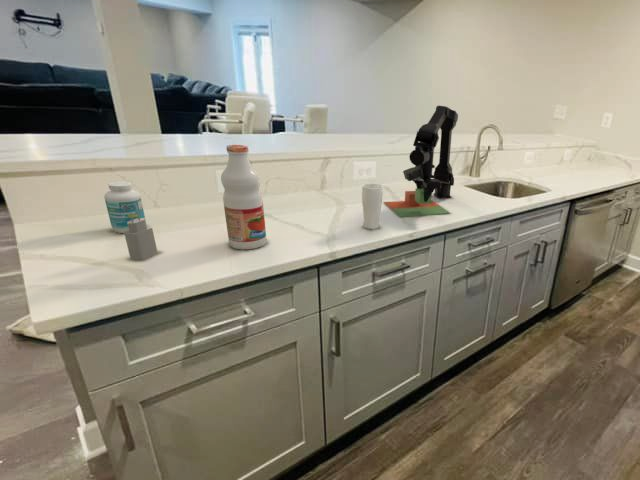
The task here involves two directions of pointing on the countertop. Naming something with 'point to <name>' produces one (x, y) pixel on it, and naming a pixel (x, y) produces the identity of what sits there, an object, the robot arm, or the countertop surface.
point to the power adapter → (140, 239)
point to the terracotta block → (410, 198)
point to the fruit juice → (243, 201)
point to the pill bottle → (122, 205)
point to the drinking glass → (371, 205)
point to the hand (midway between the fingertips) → (422, 199)
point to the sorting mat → (416, 209)
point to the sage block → (421, 196)
